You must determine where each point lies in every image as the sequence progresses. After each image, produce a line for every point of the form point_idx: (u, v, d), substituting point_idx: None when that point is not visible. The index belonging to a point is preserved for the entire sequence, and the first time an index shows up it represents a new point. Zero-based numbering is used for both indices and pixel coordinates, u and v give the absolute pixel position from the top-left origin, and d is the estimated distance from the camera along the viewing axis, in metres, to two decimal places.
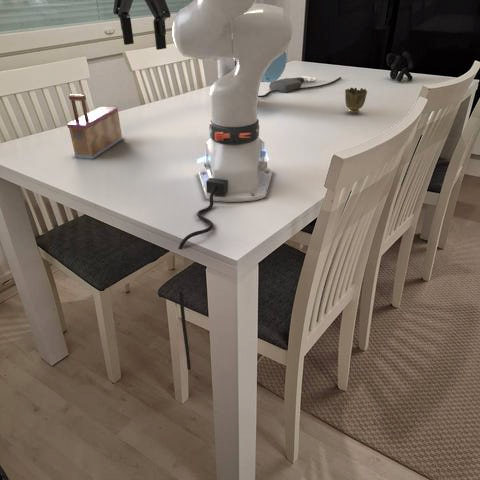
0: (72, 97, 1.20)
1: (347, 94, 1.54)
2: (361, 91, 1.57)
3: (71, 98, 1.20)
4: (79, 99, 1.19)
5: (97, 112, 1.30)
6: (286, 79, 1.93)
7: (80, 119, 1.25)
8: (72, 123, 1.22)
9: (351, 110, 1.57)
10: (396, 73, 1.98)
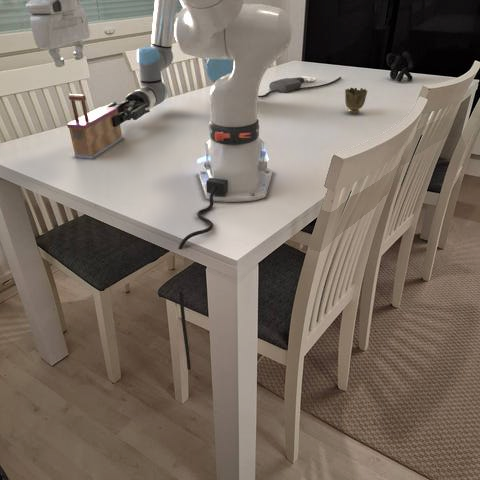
0: (72, 97, 1.20)
1: (347, 94, 1.54)
2: (361, 91, 1.57)
3: (71, 98, 1.20)
4: (79, 99, 1.19)
5: (97, 112, 1.30)
6: (286, 79, 1.93)
7: (80, 119, 1.25)
8: (72, 123, 1.22)
9: (351, 110, 1.57)
10: (396, 73, 1.98)
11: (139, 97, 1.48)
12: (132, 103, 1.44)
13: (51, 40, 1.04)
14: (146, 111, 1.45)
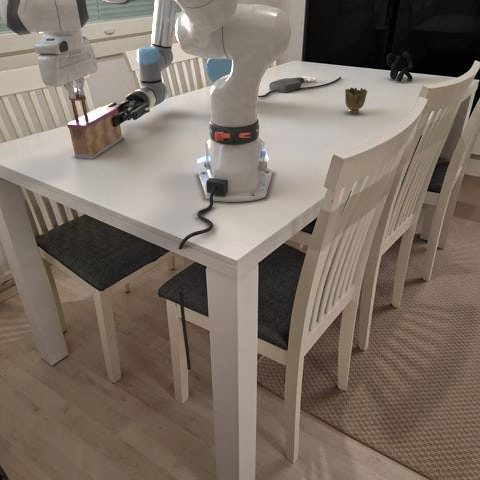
0: None
1: (347, 94, 1.54)
2: (361, 91, 1.57)
3: None
4: (79, 99, 1.19)
5: (97, 112, 1.30)
6: (286, 79, 1.93)
7: (80, 119, 1.25)
8: (72, 123, 1.22)
9: (351, 110, 1.57)
10: (396, 73, 1.98)
11: (139, 97, 1.48)
12: (132, 103, 1.44)
13: (57, 78, 1.08)
14: (146, 111, 1.45)
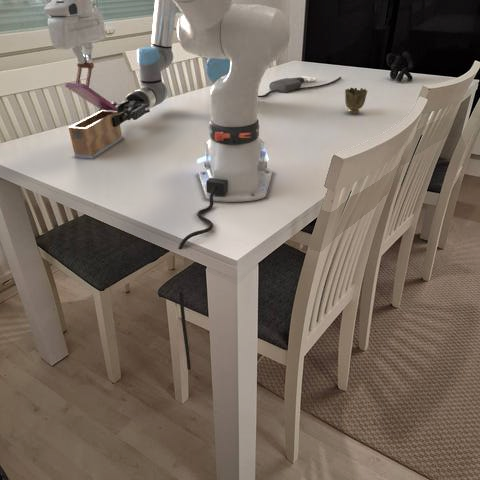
0: None
1: (347, 94, 1.54)
2: (361, 91, 1.57)
3: (79, 64, 1.21)
4: (87, 64, 1.21)
5: None
6: (286, 79, 1.93)
7: None
8: None
9: (351, 110, 1.57)
10: (396, 73, 1.98)
11: (139, 97, 1.48)
12: (132, 103, 1.44)
13: (66, 40, 1.10)
14: (146, 111, 1.45)
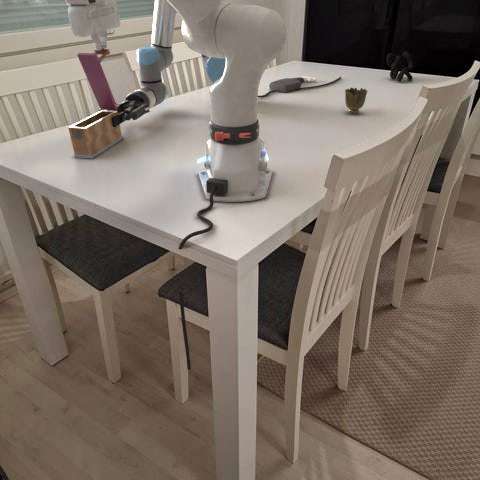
0: None
1: (347, 94, 1.54)
2: (361, 91, 1.57)
3: (96, 49, 1.28)
4: (104, 49, 1.27)
5: None
6: (286, 79, 1.93)
7: None
8: None
9: (351, 110, 1.57)
10: (396, 73, 1.98)
11: (139, 97, 1.48)
12: (132, 103, 1.44)
13: (85, 28, 1.17)
14: (146, 111, 1.45)
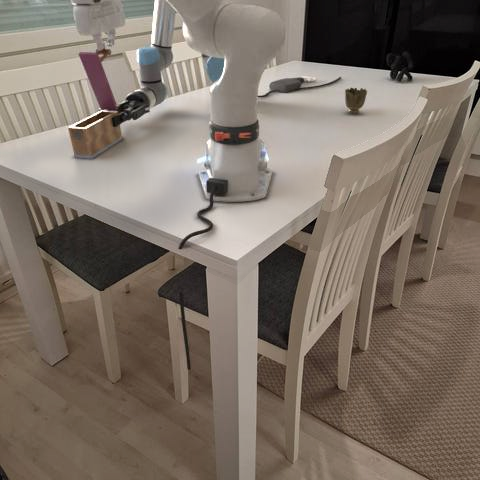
0: None
1: (347, 94, 1.54)
2: (361, 91, 1.57)
3: None
4: (105, 50, 1.28)
5: None
6: (286, 79, 1.93)
7: None
8: None
9: (351, 110, 1.57)
10: (396, 73, 1.98)
11: (139, 97, 1.48)
12: (132, 103, 1.44)
13: (90, 27, 1.18)
14: (146, 111, 1.45)
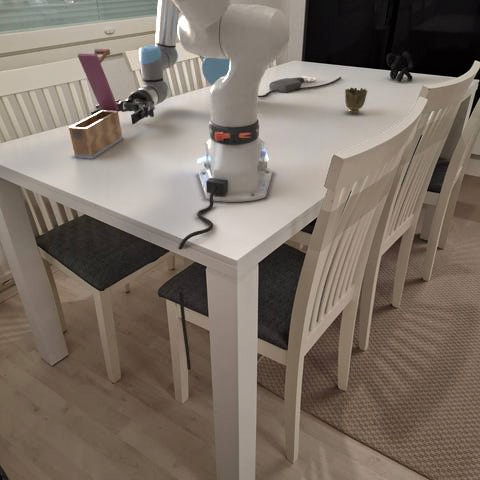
0: (98, 49, 1.28)
1: (347, 94, 1.54)
2: (361, 91, 1.57)
3: (97, 49, 1.28)
4: (104, 50, 1.27)
5: None
6: (286, 79, 1.93)
7: None
8: None
9: (351, 110, 1.57)
10: (396, 73, 1.98)
11: (142, 96, 1.49)
12: (138, 101, 1.46)
13: None
14: (153, 108, 1.48)
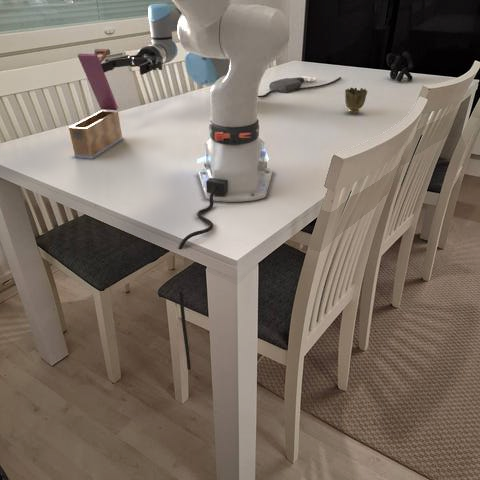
0: (98, 49, 1.28)
1: (347, 94, 1.54)
2: (361, 91, 1.57)
3: (97, 49, 1.28)
4: (104, 50, 1.27)
5: None
6: (286, 79, 1.93)
7: None
8: None
9: (351, 110, 1.57)
10: (396, 73, 1.98)
11: (151, 51, 1.51)
12: (147, 56, 1.48)
13: None
14: (161, 63, 1.49)
